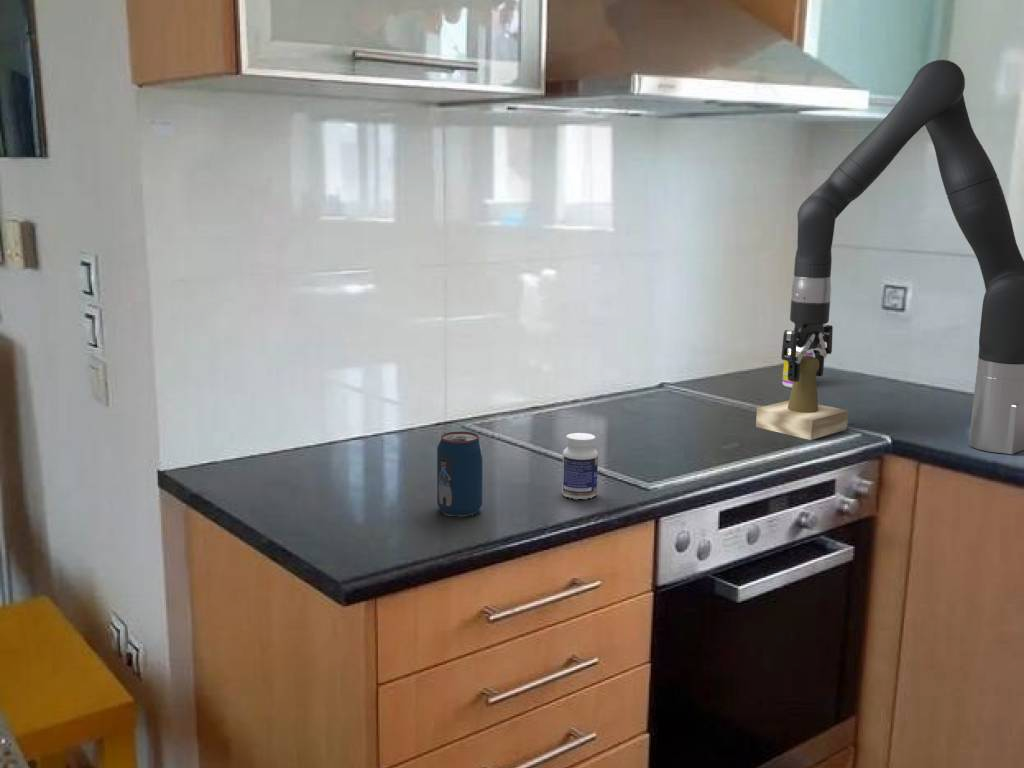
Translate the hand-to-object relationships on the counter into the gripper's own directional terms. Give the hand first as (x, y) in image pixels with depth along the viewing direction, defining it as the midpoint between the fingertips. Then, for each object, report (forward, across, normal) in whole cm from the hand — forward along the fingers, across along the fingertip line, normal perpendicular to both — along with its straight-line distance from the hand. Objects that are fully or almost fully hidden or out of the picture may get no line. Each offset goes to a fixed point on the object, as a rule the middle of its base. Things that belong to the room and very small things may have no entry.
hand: (805, 378), depth 210 cm
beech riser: (+10, 0, 0) cm, 11 cm away
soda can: (+10, -86, +4) cm, 87 cm away
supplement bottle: (+11, +34, +24) cm, 43 cm away
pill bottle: (+10, -66, -2) cm, 67 cm away
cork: (+7, 0, 0) cm, 7 cm away
